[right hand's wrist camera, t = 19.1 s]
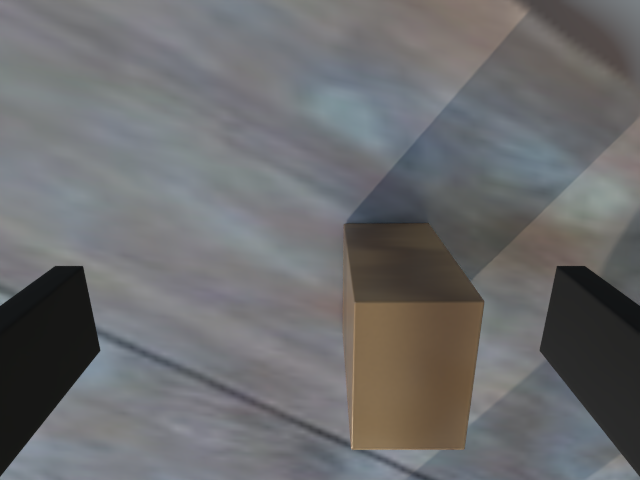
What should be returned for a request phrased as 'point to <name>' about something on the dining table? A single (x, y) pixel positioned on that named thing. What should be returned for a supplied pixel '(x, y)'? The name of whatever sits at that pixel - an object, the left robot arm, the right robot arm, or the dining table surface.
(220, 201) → the dining table surface
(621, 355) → the right robot arm
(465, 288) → the block
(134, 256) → the dining table surface
